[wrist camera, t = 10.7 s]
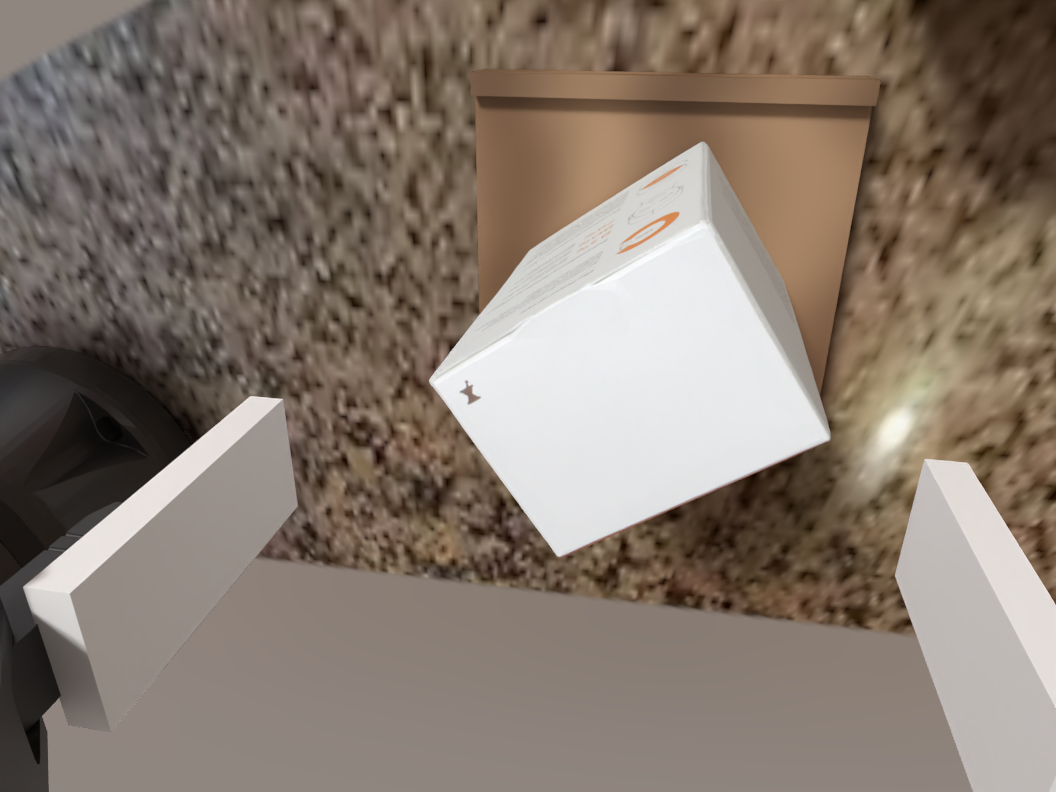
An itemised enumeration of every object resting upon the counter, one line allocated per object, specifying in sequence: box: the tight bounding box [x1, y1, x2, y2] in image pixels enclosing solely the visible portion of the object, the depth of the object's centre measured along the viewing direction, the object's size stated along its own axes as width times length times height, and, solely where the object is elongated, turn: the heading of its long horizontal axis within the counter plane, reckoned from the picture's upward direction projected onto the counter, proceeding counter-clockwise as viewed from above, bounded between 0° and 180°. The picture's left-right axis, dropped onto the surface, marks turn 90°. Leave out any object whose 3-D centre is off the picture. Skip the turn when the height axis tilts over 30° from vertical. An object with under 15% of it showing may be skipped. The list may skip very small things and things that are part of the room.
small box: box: [429, 142, 831, 557], centre depth 25 cm, size 8×6×13 cm
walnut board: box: [470, 69, 881, 452], centre depth 31 cm, size 14×14×2 cm
